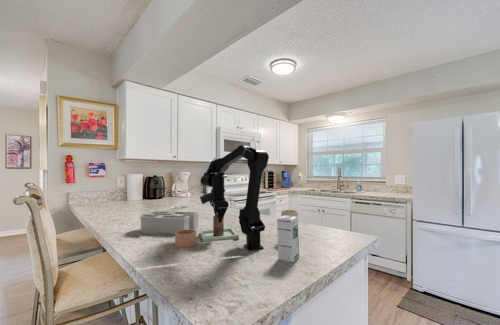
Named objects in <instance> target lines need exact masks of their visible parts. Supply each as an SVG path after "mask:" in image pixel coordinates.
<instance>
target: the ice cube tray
mask: <svg viewBox="0 0 500 325" xmlns="http://www.w3.org/2000/svg"><path fill="white" fill-rule="evenodd" d="M198 226H199V212H197V211H193V212H192V211H170V210H169V211H166V210H165V211H163V210H162V211H151V212H145V213H141V215H140V231H141V234H146V235H158V234H159V235H160V234H167V235H168V234H170V235H171V234H173V235H175V232H176V231H180V230H186V229H192V230H194V229H195V230H197V229H198V228H199V227H198Z"/></svg>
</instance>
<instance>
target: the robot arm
mask: <svg viewBox="0 0 500 325" xmlns="http://www.w3.org/2000/svg"><path fill="white" fill-rule="evenodd" d="M242 158H244V159H246V160H247V164H246V165H247V166H248V169H249V178H248V185H247V190H246V193H247V194H246V200H245V206H244V207H243V208H242V207H241V208H240V209H239V213H238V214H239V215H238V217H237V218H238V219H239V220H238V223H239V225H240V230H241V234H244V235H246V236H245V237H246V239H245V240H246V243H245V244H243V247H244V248H245V249H246V250H247V251H256V250H263V249H264V246H263V245H262V244H261V232H263V231H265V228H266V225H265V224H264V222H263V221H262V219H261V212H260V210H259V207H258V205H259V198H260V191H261V184H262V179H263V178H262V176H263V172H264V171H265V169H266V168H267V166H268V163H269V159H270V158H269V154H268V152H267V151H266V150H262V149H256V148H253V147H251V146H249V145H245V144H244V145H243V144H241V145H238V146H237V147H236V148H235V149H234V150H231V152H229V153H228V154H226V155H225V156H223V157H221V158H216V159H214V160H211V161H210V163H209V166H208V168H207V170H206V172H204V173H203V175H202V176H201V178H200V184H201V185H202V186H203V187H209V188H210V187H211V189H210V192H208V193H205V194H202V195H201V196H199V199H200V202H201V203H202V204H201V205H204V204H206V203H209V205H210V206H211V207H212V209H213V213H214V216H215V215H216V213H217V215H218V221H219V223H221V222H222V220H223V217H225V215H226V212H227V211H228V209H229V207H230V206H229V204H230V203H229V202H228V201H227V200H226V198H225V192H226V188H225V178H228V175H227V174H226V173H225V172H227V170H228V169H229V168H230V167H229V166H231V165H233V164H234V163H236V162H238V161H239V160H241V159H242Z"/></svg>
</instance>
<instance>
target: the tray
mask: <svg viewBox="0 0 500 325" xmlns="http://www.w3.org/2000/svg"><path fill="white" fill-rule="evenodd" d="M199 235H200V238H201V240H202V241H201V242H202V243H203V242H204V243H205V242H213V241H222V240H231V239H232V241H239V240H240V236H239V234H238V233H237V232H236V231H235V230H234V229H233V227H230V228H229V227H228V228H227V227H226V228H225V227H224V236H219V237H214V236H213V229H205V230H199Z"/></svg>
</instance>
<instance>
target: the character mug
mask: <svg viewBox="0 0 500 325" xmlns="http://www.w3.org/2000/svg"><path fill="white" fill-rule="evenodd" d="M298 212H299V211H298V210H295V209H282V210H281V217H282V216H296V217H298V218H299V215H298V214H299V213H298Z"/></svg>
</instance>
